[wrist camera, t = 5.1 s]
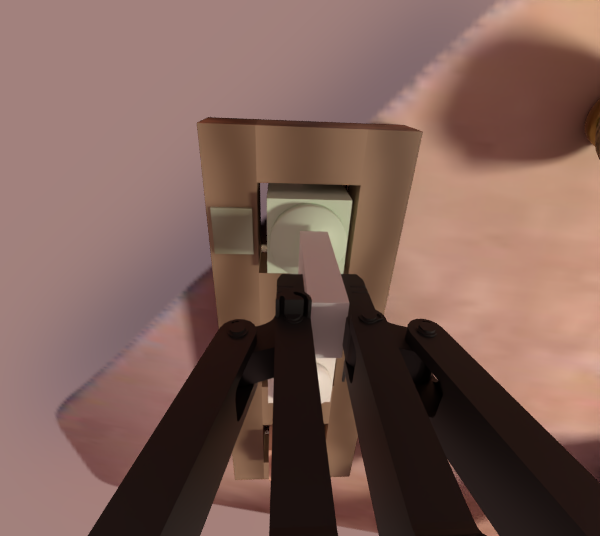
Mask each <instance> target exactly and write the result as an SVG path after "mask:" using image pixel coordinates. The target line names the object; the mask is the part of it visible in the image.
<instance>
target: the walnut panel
mask: <svg viewBox="0 0 600 536" xmlns="http://www.w3.org/2000/svg"><path fill="white" fill-rule="evenodd" d="M197 130H198V138H199V147H200V157H201V167H202V176H203V185H204V195H205V204H206V214H207V223H208V232H209V242H210V251H211V261H212V270H213V279H214V289H215V298H216V307H217V317H218V326H219V328H220V327H221V326H222V325H223V324H224V323H226V322H228V321H230V320H235V319H245V320H248V321H251V322H252V323H253V324H255V326H260V325H263V324H266V323H268V322H270V321H271V320H272V319H273V318H274V317H275V304H276V293H277V279H278V278H279V276H280V275H281V274H290V273H267V253H266V252H261V216H260V215H261V213H260V183H295V184H331V185H349V196H350V197H351V199H352V208H351V216H350V224H349V232H348V240H347V248H346V256H345V264H344V272H343V274H357V275H358V276H359V277H360V278H362V279H363V281H364V283H365V286H366V288H367V291H368V293H369V295H370V298H371V300H372V303H373V305H374V308H375V310H377V311H379V312H380V313H382V314H383V315H384V311H385V307H386V302H387V297H388V293H389V288H390V283H391V278H392V274H393V269H394V264H395V260H396V255H397V250H398V246H399V241H400V236H401V232H402V227H403V222H404V218H405V213H406V208H407V204H408V199H409V194H410V189H411V185H412V180H413V175H414V171H415V166H416V161H417V157H418V152H419V147H420V143H421V138H422V133H423V132H422V131H419V130H417V129H414V128H411V127H408V126H405V125H386V124H361V123H336V122H311V121H286V120H285V121H284V120H261V119H237V118H212V117H208V118H206V119H204V120H202V121H200V122H197ZM344 360H345V355H344V351H343V352H342V358H336V362H335V369H334V377H333V384H332V392H331V399H330V402H323V403H322V404H321V405H322V413H323V421H324V429H325V437H326V445H327V453H328V462H329V470H330V477H346V476H349V475H350V470H351V466H352V461H353V456H354V452H355V447H356V442H357V438H358V433H357V429H356V424H355V419H354V414H353V410H352V405H351V400H350V395H349V391H348V386H347V381H346V377H345V382H342V373H343V367H344ZM272 423H273V403H268V380H264V381H261V382H258V386H257V389H256V391H255V394H254V396H253V399H252V402H251V404H250V407H249V409H248V412H247V415H246V417H245V420H244V422H243V425H242V428H241V430H240V433H239V436H238V438H237V441H236V443H235V446H234V449H233V451H232V457H233V466H234V476H235V480H251V479H269V434H265V425H272Z"/></svg>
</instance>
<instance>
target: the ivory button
mask: <svg viewBox="0 0 600 536" xmlns="http://www.w3.org/2000/svg"><path fill="white" fill-rule="evenodd" d="M335 362H336V358H316V365H317V373H318V381H319V389H320V397H321V404H322V403H323V402H330V399H331V392H332V384H333V377H334V369H335ZM273 387H274V378H271V379H268V403H273Z"/></svg>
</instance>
